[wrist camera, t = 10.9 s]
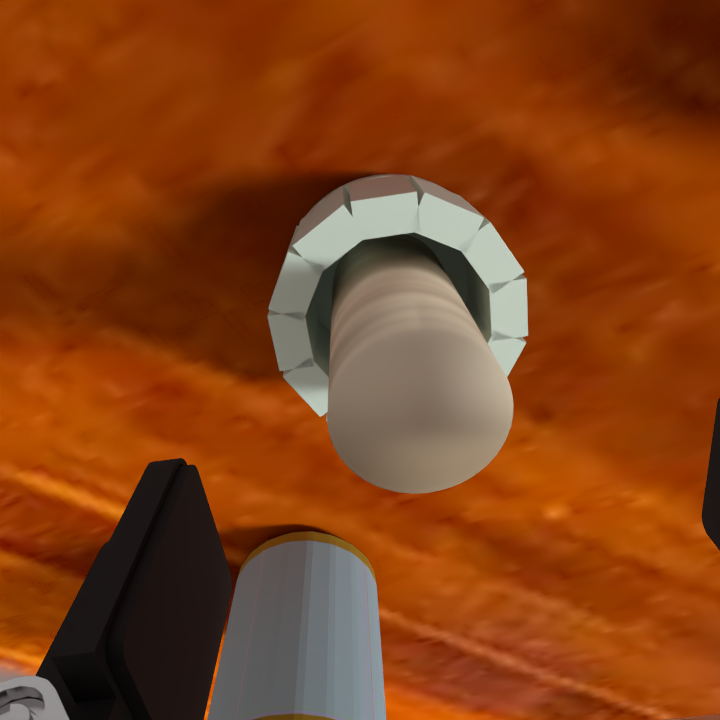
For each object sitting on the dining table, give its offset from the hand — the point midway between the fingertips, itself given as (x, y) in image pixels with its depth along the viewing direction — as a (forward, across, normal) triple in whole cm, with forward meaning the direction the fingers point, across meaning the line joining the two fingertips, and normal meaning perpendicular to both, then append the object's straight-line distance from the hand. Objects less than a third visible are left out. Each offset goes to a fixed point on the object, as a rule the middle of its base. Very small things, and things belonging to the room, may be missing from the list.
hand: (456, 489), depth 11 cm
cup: (+14, 0, +1) cm, 14 cm away
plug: (+13, 0, +1) cm, 13 cm away
